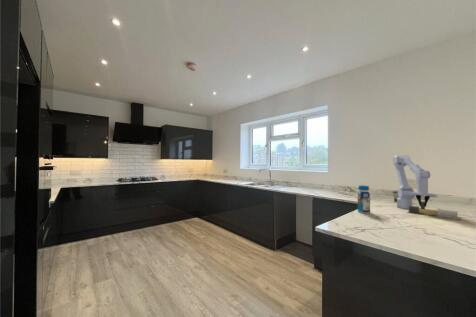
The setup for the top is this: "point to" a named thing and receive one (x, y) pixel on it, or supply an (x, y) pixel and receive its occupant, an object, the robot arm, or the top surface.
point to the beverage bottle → (363, 199)
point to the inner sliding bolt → (427, 209)
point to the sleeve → (447, 214)
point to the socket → (413, 209)
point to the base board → (435, 216)
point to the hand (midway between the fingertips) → (422, 206)
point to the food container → (395, 195)
